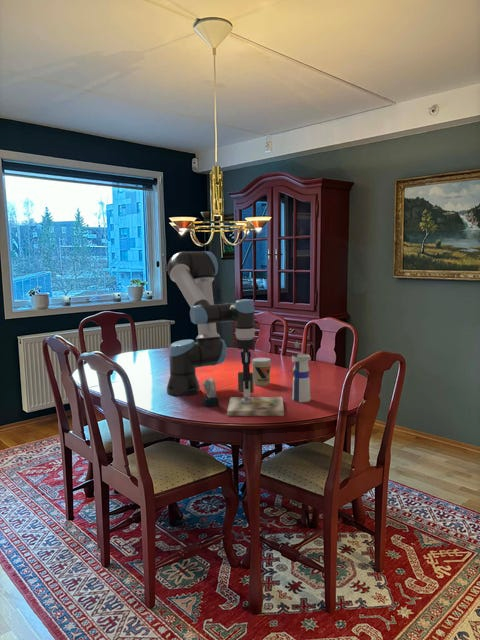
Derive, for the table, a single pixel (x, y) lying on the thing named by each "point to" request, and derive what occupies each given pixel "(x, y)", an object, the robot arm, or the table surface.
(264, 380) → the coffee cup
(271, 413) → the dial board
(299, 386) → the water bottle
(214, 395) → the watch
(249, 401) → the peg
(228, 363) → the table surface
